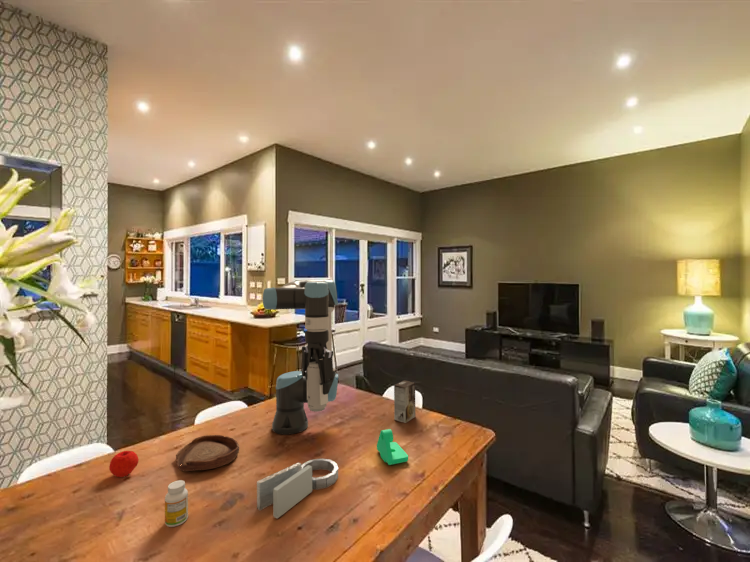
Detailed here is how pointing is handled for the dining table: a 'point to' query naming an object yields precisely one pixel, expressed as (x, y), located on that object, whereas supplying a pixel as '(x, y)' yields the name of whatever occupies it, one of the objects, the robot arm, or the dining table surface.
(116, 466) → the apple
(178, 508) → the supplement bottle
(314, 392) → the energy drink can
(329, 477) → the hinge fixed
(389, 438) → the camera mount
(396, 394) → the coffee box
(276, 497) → the hinge leaf
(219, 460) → the basket
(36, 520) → the dining table surface
